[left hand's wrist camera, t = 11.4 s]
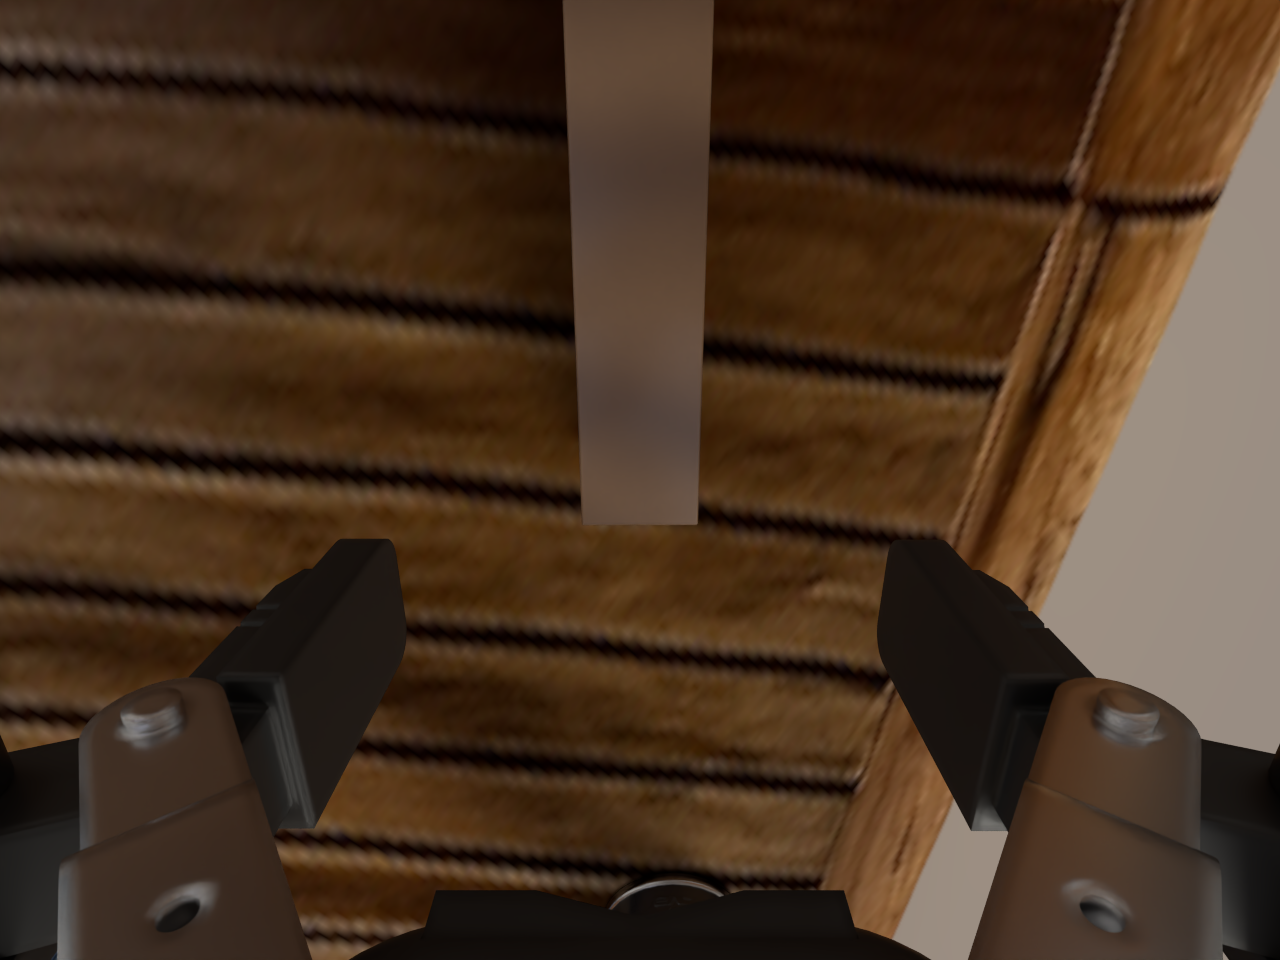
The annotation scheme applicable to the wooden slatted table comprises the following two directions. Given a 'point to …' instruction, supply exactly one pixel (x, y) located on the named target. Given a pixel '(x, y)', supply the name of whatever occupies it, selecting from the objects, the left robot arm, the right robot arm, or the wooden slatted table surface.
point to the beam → (639, 250)
